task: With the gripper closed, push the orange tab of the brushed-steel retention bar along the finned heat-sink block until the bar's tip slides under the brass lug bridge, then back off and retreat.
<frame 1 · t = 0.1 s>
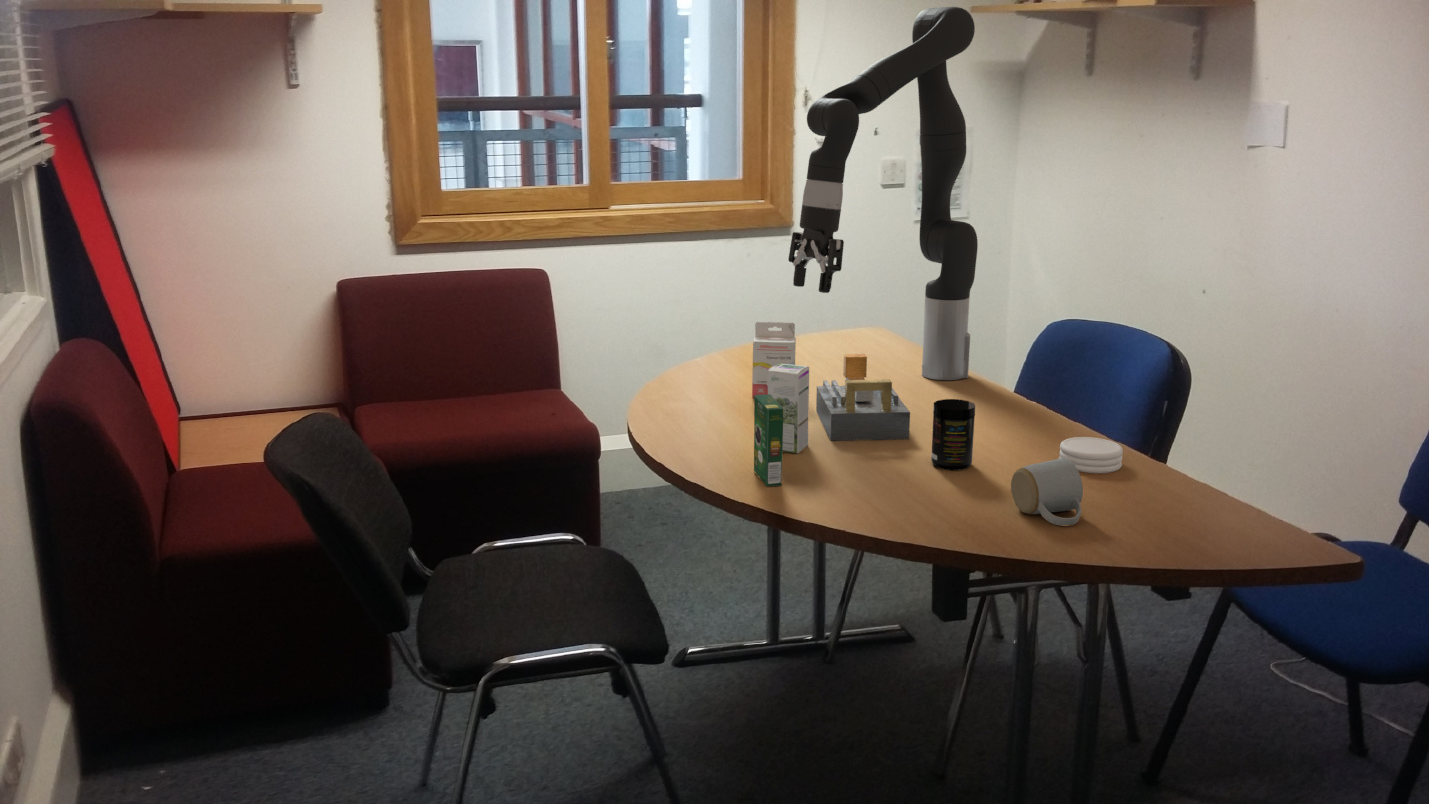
hand: (810, 289, 226), 22 cm above the table, tool pointing down, fingers open, 8 cm apart
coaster: (1089, 466, 193), on the table
coffee box: (768, 480, 187), on the table
supplement container: (951, 466, 193), on the table
heatsink block: (860, 424, 215), on the table
ceramic mug: (1050, 515, 171), on the table
syrup box: (787, 449, 202), on the table
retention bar: (859, 377, 216), point 8 cm above the table, slide at 0.0 cm
ink cartridge box: (773, 396, 236), on the table
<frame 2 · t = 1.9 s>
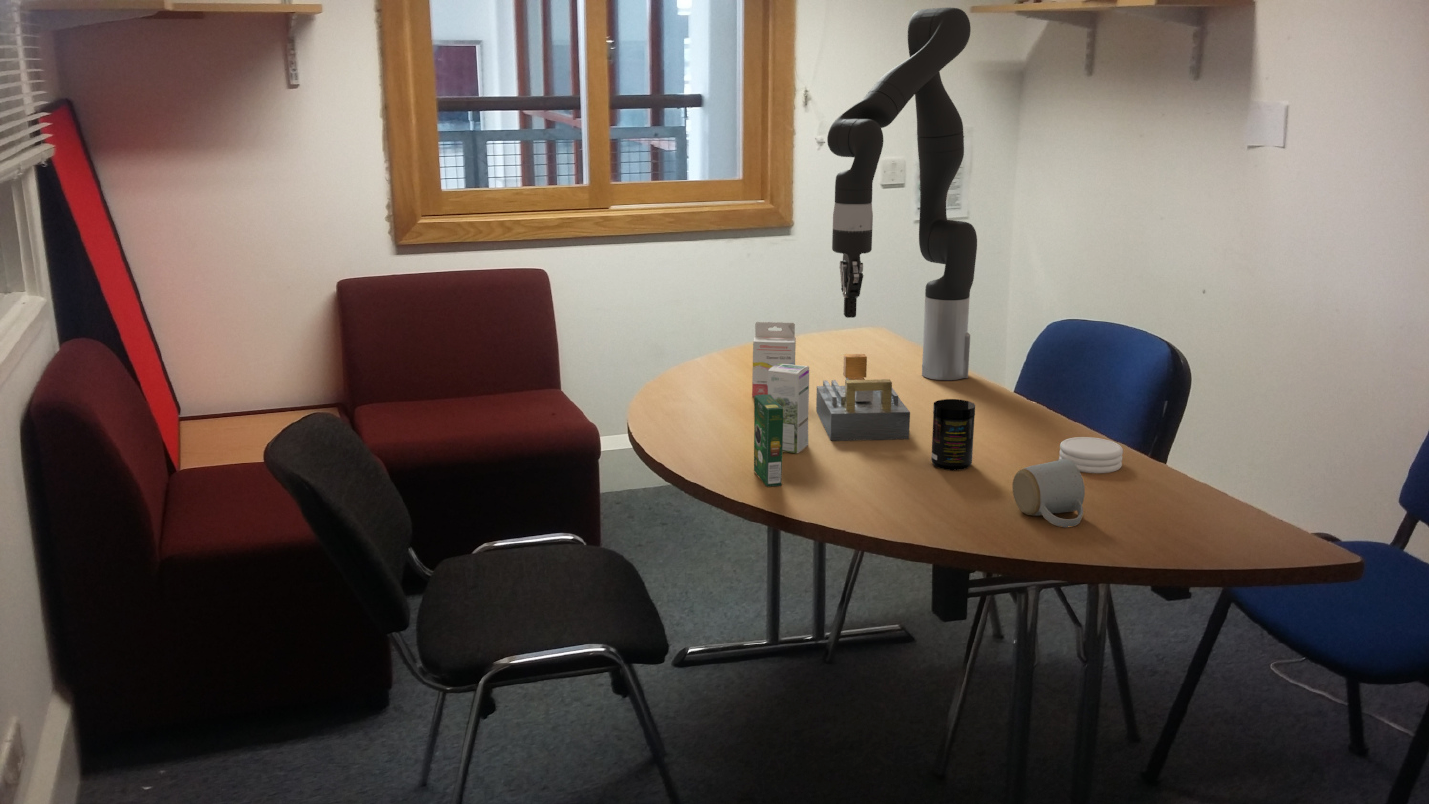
hand: (849, 316, 225), 17 cm above the table, tool pointing down, fingers closed
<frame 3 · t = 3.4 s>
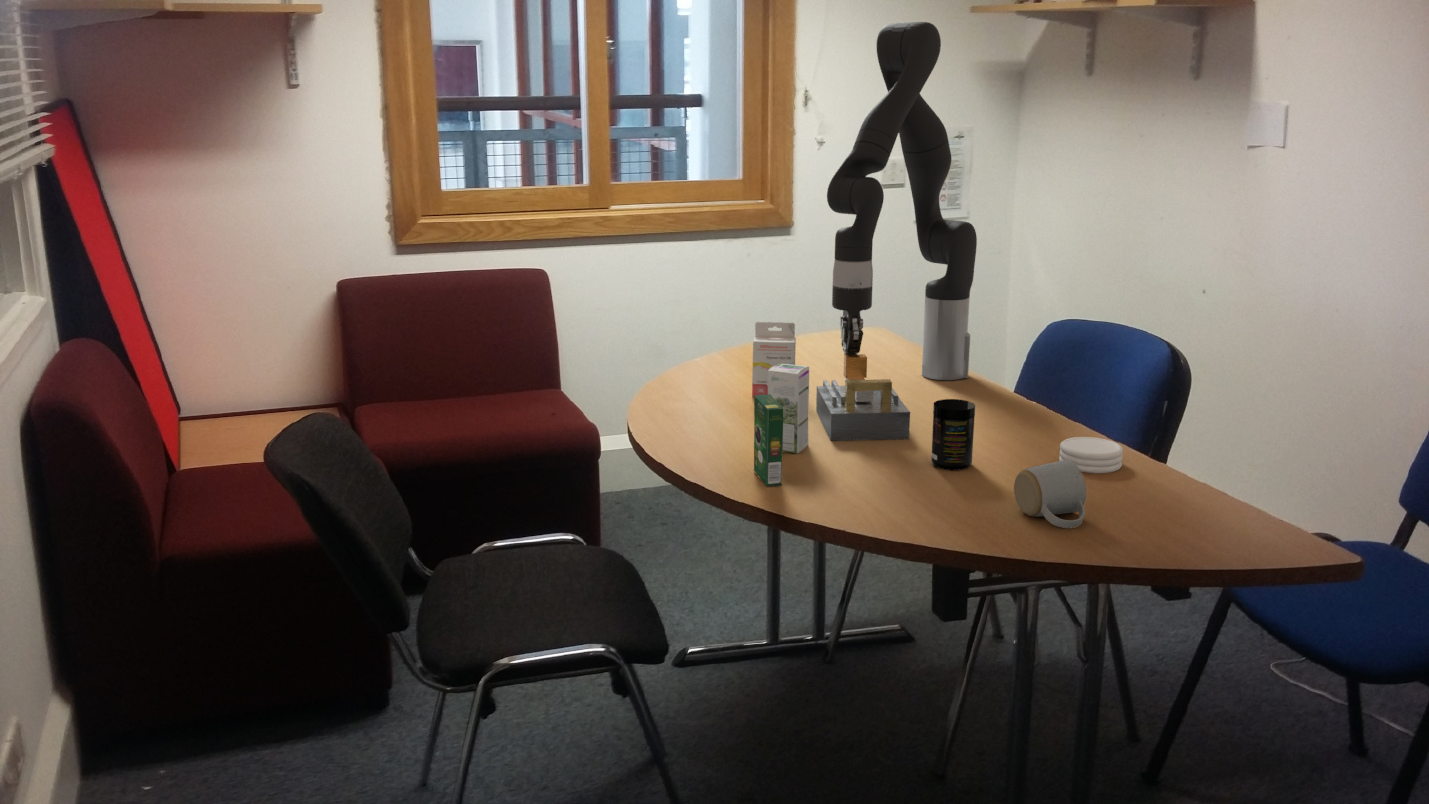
hand: (849, 372, 225), 7 cm above the table, tool pointing down, fingers closed
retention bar: (859, 377, 216), point 8 cm above the table, slide at 0.3 cm, touching gripper
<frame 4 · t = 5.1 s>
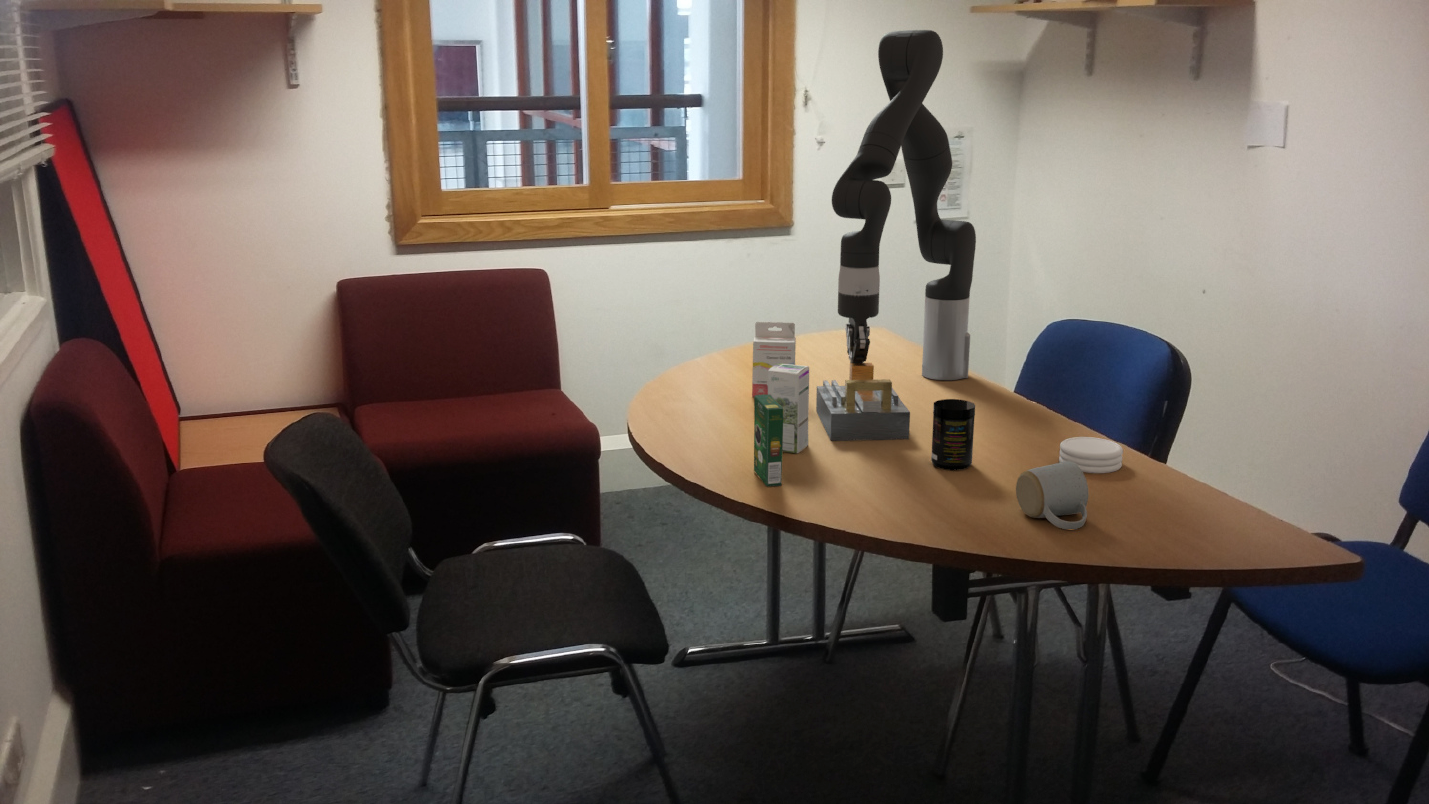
hand: (856, 380, 218), 7 cm above the table, tool pointing down, fingers closed
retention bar: (865, 386, 209), point 8 cm above the table, slide at 7.1 cm, touching gripper
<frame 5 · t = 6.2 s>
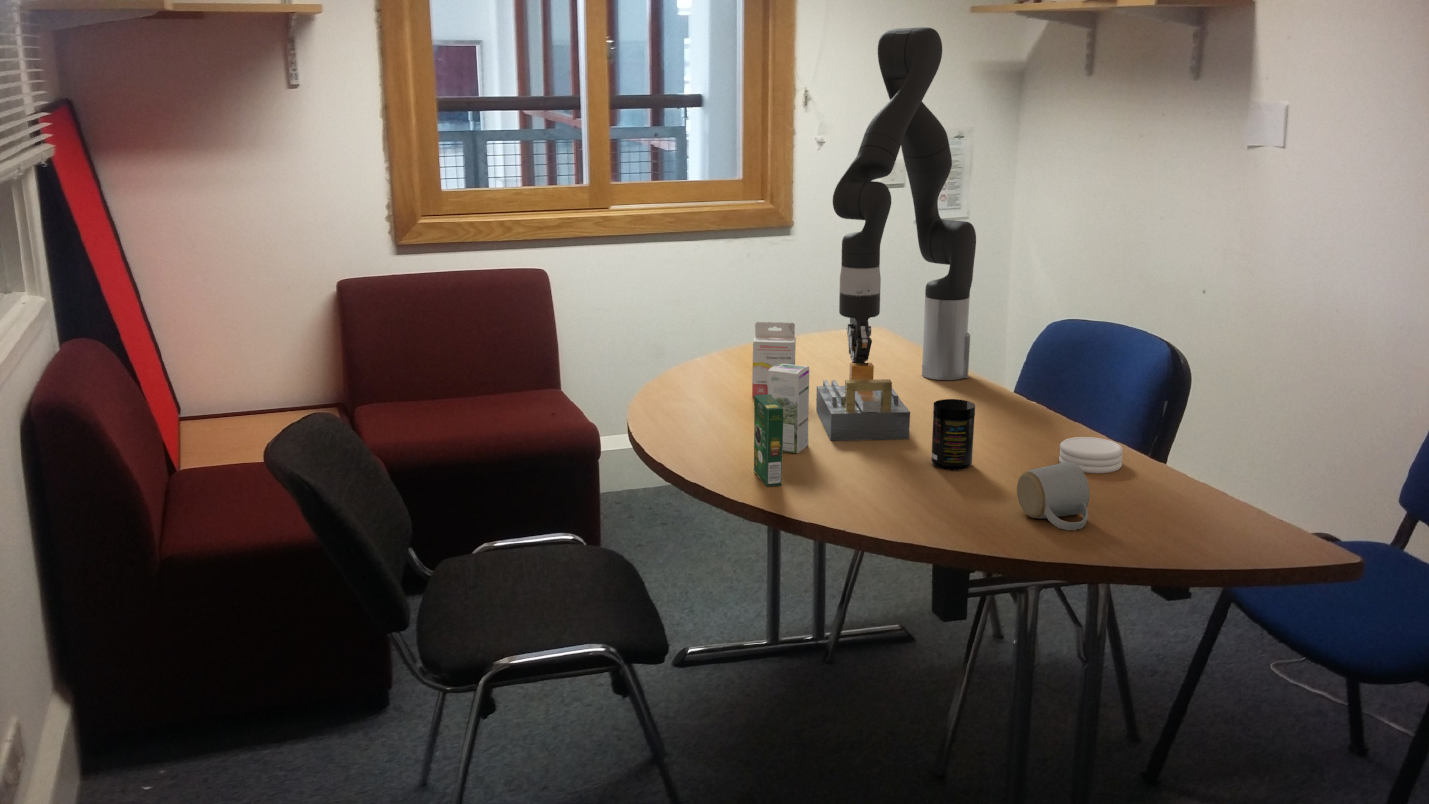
hand: (857, 380, 220), 7 cm above the table, tool pointing down, fingers closed
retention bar: (865, 386, 209), point 8 cm above the table, slide at 7.0 cm
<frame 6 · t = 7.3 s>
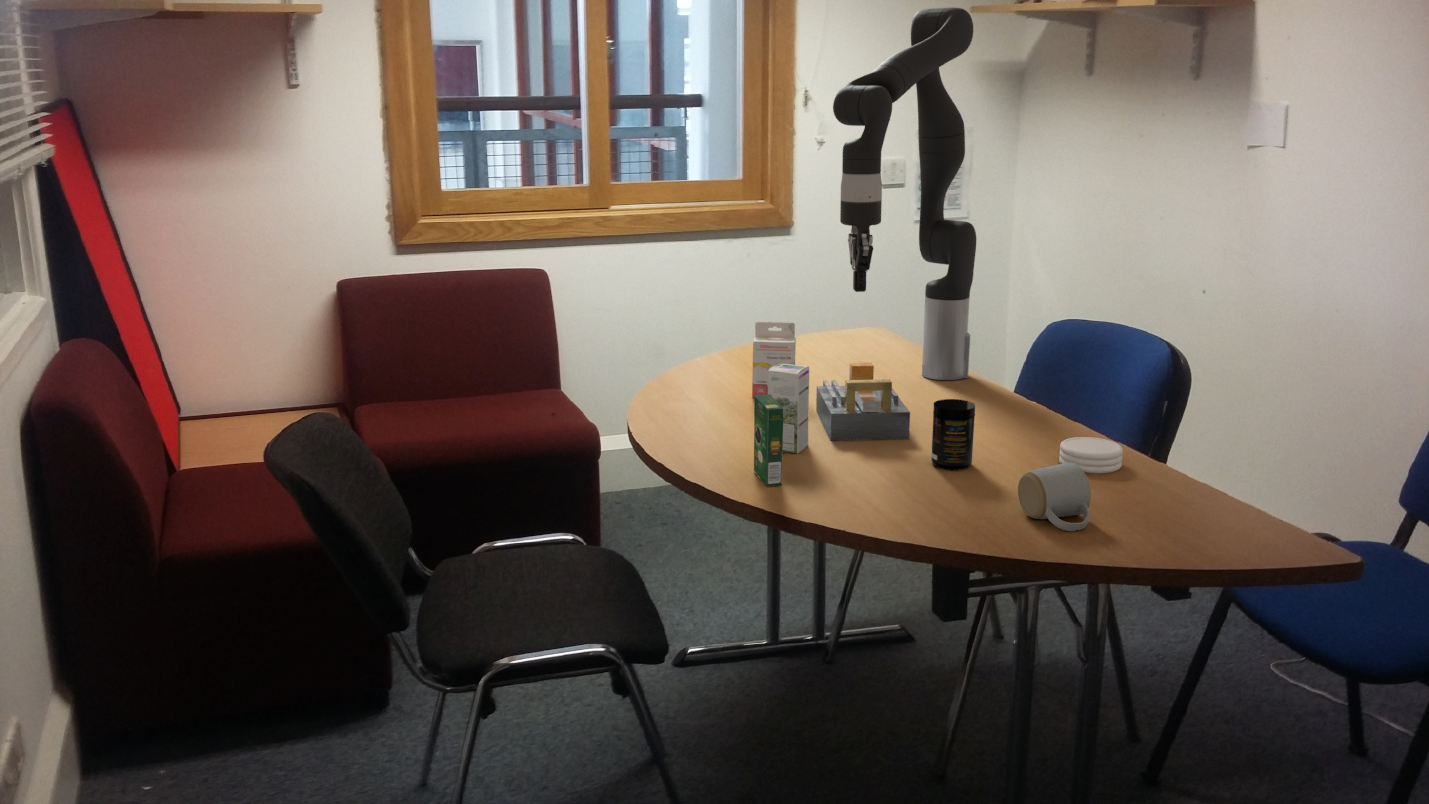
hand: (859, 290, 219), 23 cm above the table, tool pointing down, fingers closed
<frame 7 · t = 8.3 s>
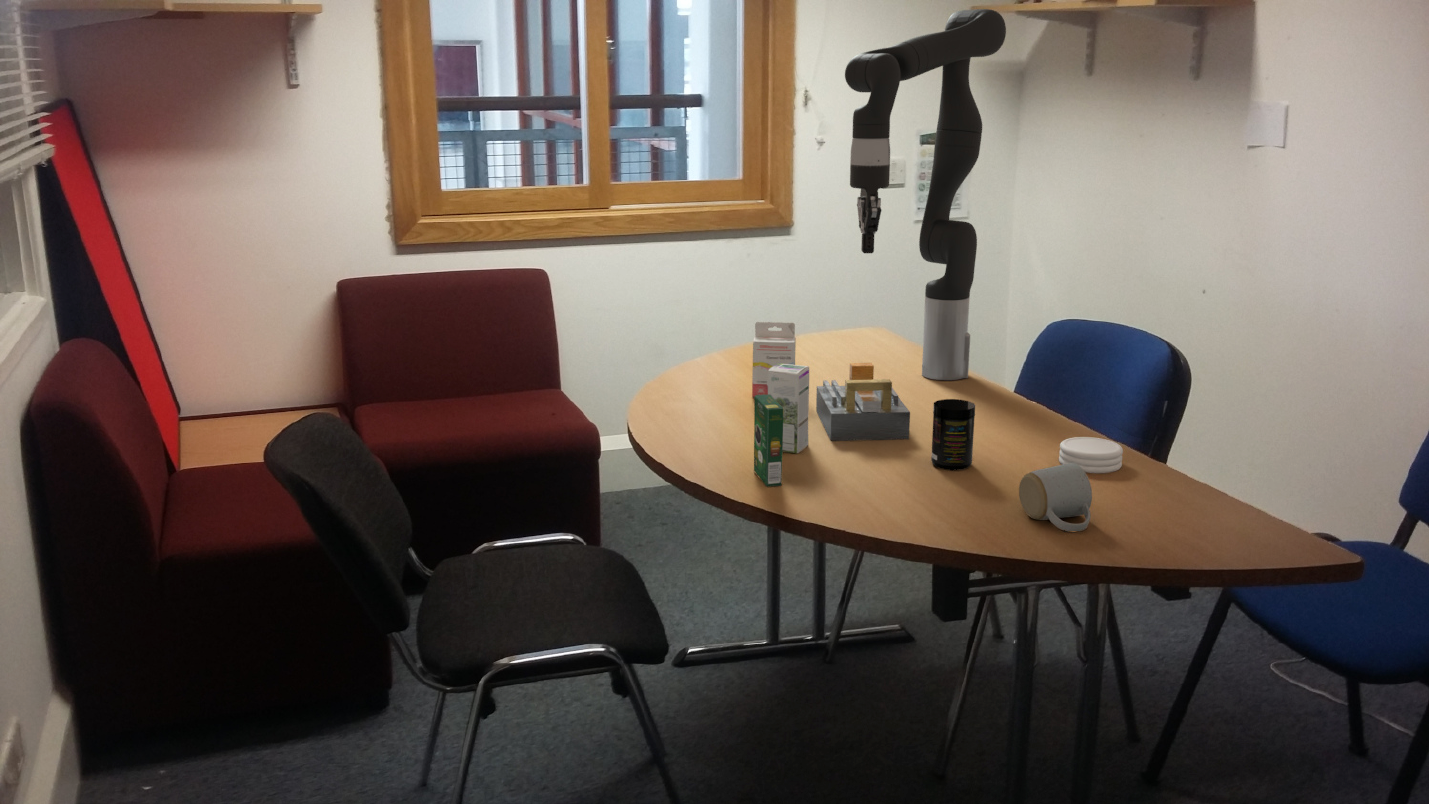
hand: (867, 252, 227), 29 cm above the table, tool pointing down, fingers closed
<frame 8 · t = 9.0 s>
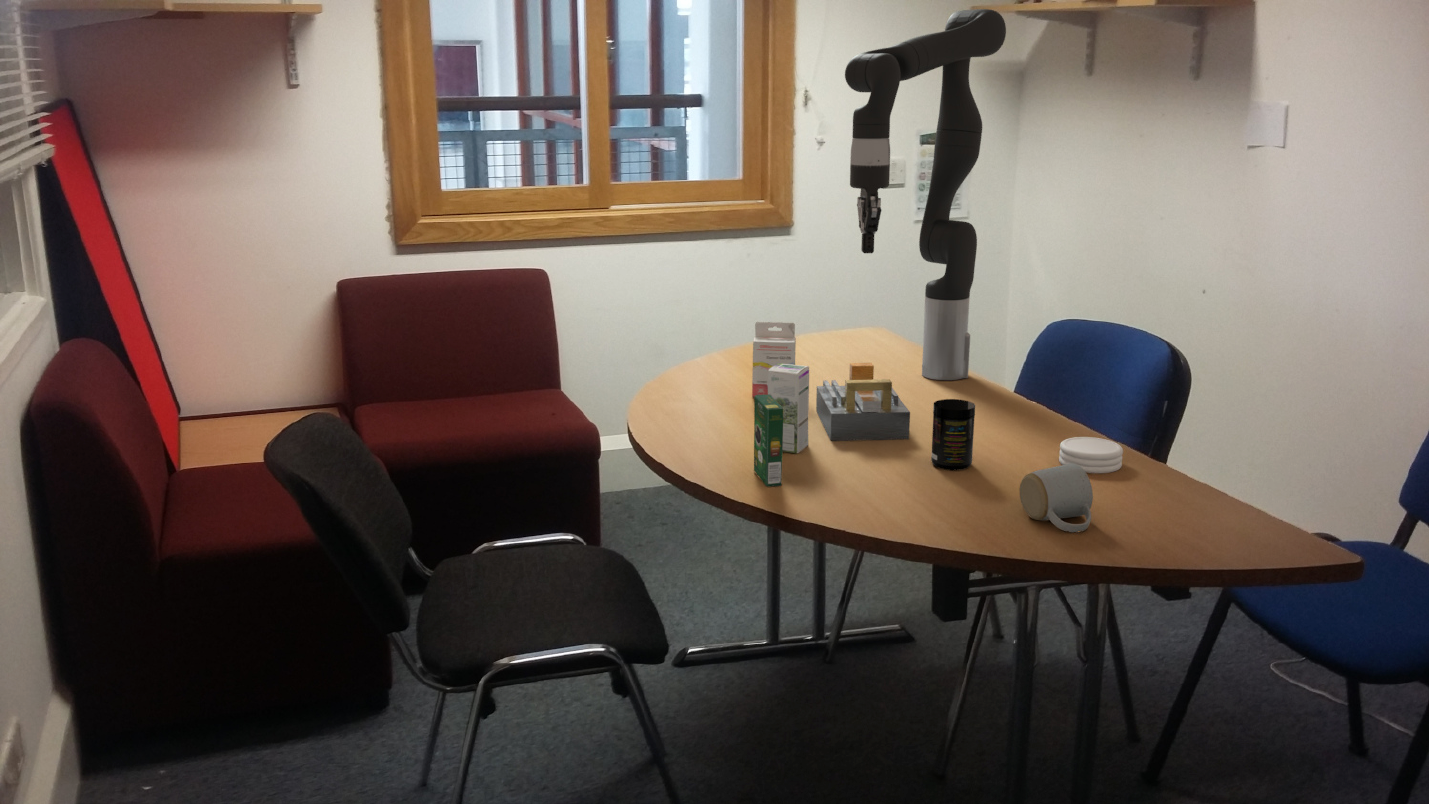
hand: (867, 252, 227), 29 cm above the table, tool pointing down, fingers closed
at the end: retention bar slide at 7.0 cm; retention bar touching nothing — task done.
